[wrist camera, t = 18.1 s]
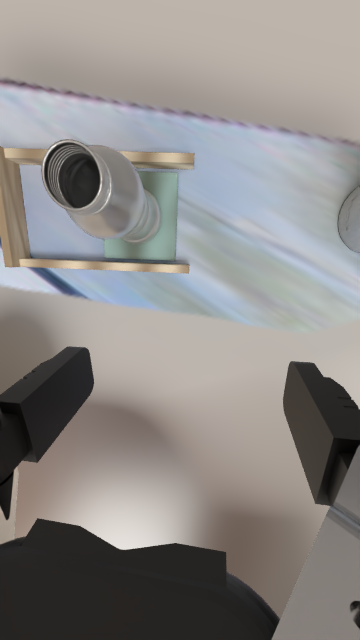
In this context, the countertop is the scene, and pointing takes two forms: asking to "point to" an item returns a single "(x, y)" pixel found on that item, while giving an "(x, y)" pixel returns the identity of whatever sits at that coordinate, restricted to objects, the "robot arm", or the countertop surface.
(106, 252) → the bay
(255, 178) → the countertop surface
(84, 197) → the plastic bottle
